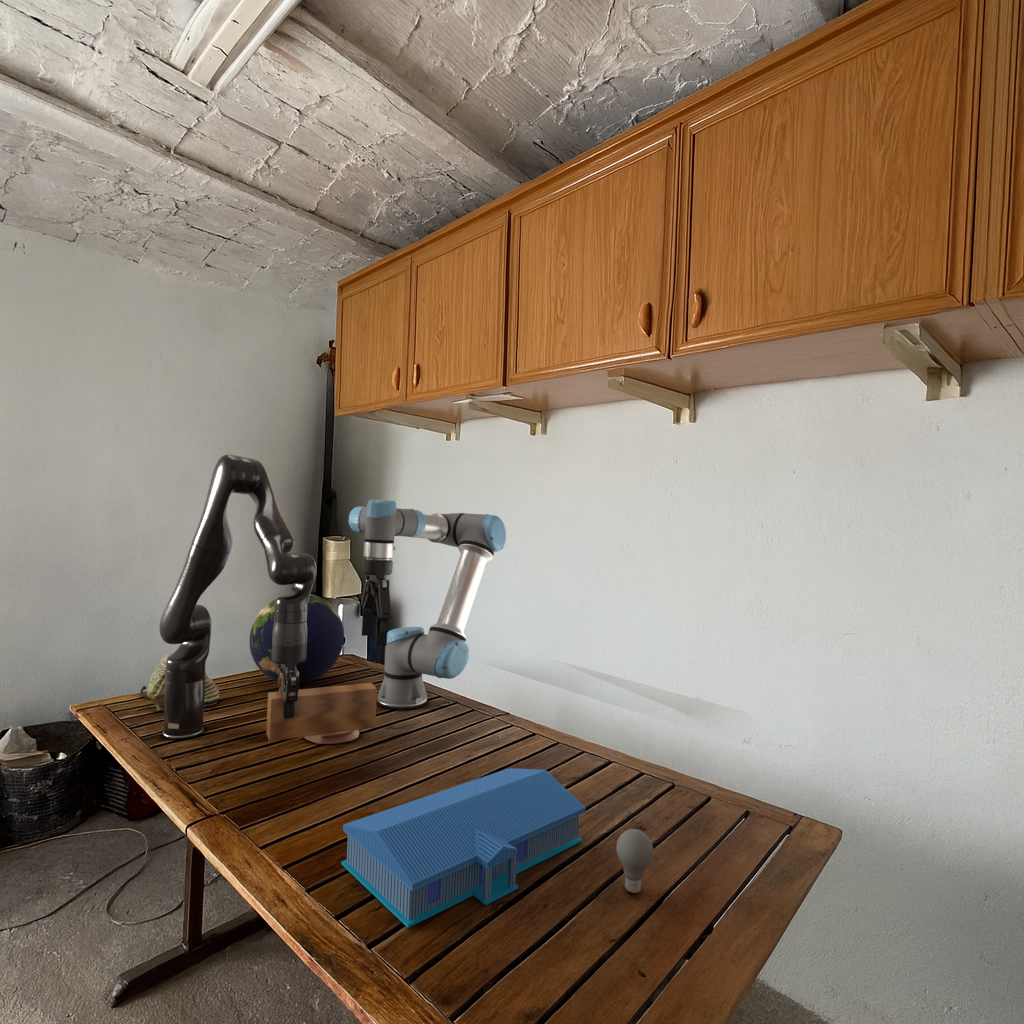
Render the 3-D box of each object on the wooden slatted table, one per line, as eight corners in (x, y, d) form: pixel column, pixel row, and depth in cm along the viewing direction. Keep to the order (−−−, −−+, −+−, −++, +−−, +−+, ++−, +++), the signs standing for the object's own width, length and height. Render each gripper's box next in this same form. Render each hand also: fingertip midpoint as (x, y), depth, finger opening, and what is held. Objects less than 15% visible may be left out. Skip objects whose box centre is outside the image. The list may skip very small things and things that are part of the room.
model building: (420, 939, 92) (422, 871, 92) (340, 863, 110) (342, 805, 110) (595, 848, 118) (598, 795, 118) (507, 798, 136) (509, 752, 136)
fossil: (144, 707, 182) (145, 655, 182) (212, 696, 194) (213, 647, 194) (151, 716, 175) (153, 662, 175) (221, 703, 188) (223, 653, 188)
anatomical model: (298, 725, 162) (320, 711, 174) (297, 741, 162) (319, 726, 174) (346, 731, 160) (365, 717, 171) (345, 747, 160) (365, 731, 171)
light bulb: (610, 879, 108) (613, 822, 108) (644, 879, 109) (647, 822, 109) (619, 902, 102) (622, 840, 102) (655, 901, 103) (658, 840, 103)
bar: (269, 741, 141) (271, 699, 141) (266, 733, 146) (268, 692, 146) (375, 727, 153) (377, 688, 153) (369, 720, 157) (371, 682, 157)
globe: (227, 687, 204) (230, 594, 203) (291, 666, 231) (294, 584, 231) (301, 702, 192) (305, 604, 192) (360, 678, 220) (363, 592, 220)
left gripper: (312, 646, 141) (309, 722, 141) (301, 632, 153) (298, 702, 153) (277, 648, 137) (273, 726, 137) (268, 634, 150) (265, 706, 150)
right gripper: (407, 563, 156) (402, 650, 155) (379, 555, 178) (374, 630, 178) (377, 563, 152) (372, 651, 152) (352, 554, 174) (347, 631, 174)
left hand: (286, 713), depth 145 cm, fingers closed on bar, 5 cm apart
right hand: (373, 640), depth 165 cm, fingers open, 13 cm apart
